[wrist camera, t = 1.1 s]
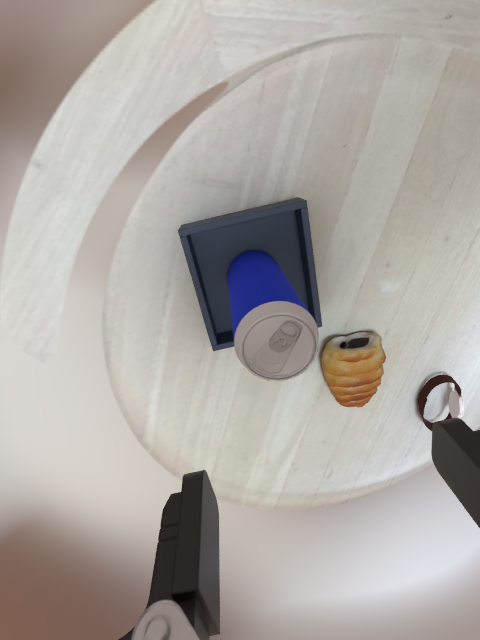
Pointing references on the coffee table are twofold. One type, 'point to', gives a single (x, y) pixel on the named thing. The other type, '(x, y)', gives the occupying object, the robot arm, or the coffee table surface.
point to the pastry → (353, 367)
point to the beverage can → (269, 319)
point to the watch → (454, 398)
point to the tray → (240, 236)
